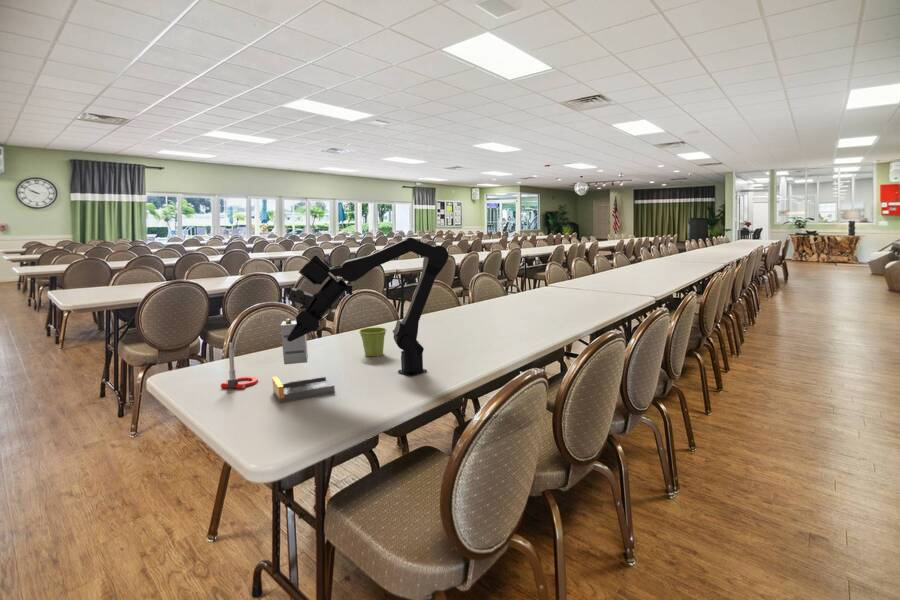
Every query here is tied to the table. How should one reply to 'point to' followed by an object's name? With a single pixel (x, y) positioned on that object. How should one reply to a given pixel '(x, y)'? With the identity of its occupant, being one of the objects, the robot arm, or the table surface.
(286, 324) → the grey grooved upright block
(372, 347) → the plant pot
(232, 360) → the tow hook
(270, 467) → the table surface
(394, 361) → the table surface
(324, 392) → the grey channel rail
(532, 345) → the table surface
